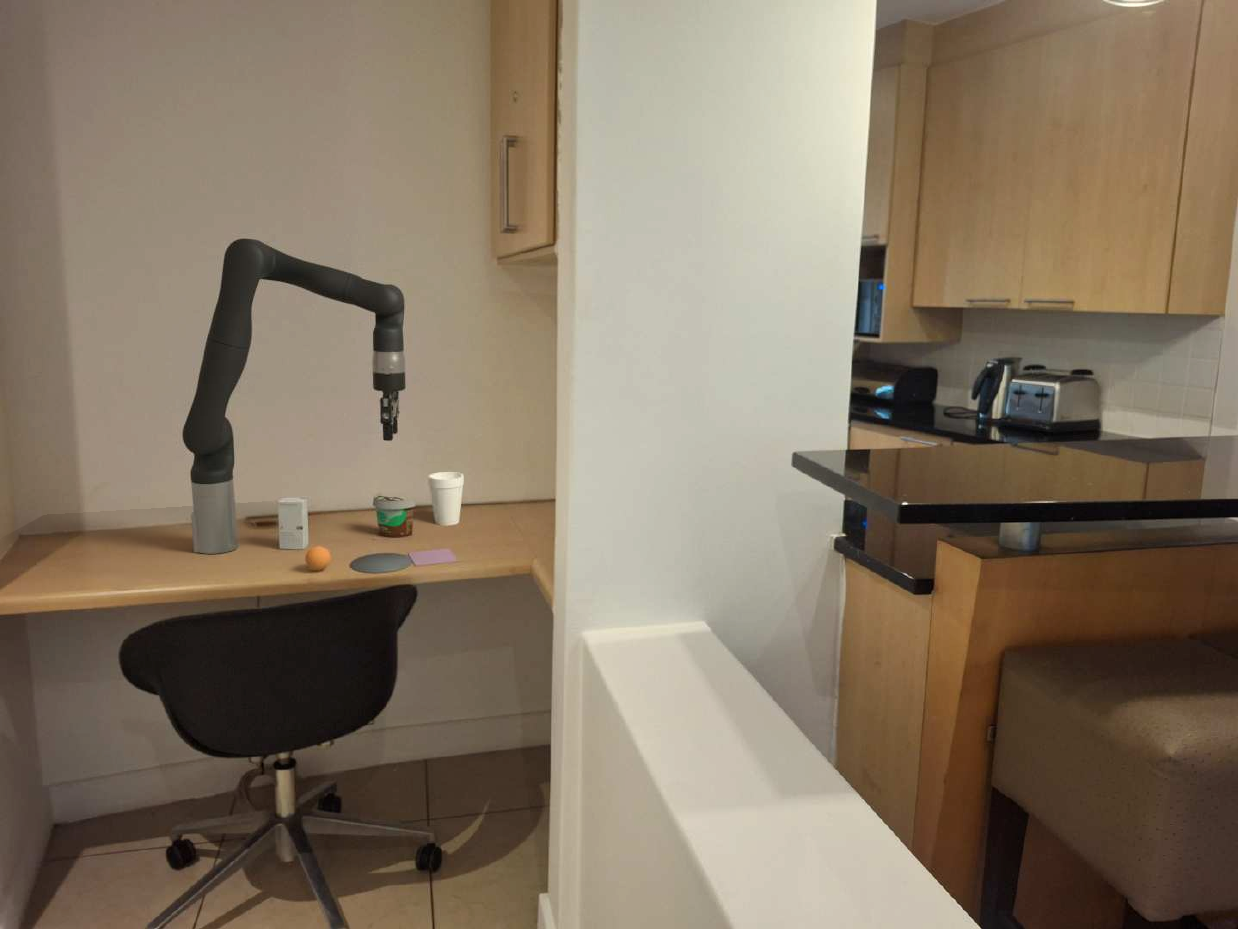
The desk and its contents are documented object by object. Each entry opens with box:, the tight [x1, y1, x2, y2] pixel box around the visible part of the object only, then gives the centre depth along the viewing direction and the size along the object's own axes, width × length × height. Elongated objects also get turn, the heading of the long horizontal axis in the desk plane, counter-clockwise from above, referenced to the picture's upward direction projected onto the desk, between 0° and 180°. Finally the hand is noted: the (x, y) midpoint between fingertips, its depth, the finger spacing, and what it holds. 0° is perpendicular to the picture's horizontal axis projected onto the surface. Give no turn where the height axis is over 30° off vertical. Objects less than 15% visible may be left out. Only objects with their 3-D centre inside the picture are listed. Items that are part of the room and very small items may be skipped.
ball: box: [304, 545, 332, 572], centre depth 202 cm, size 6×6×6 cm
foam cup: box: [427, 471, 465, 526], centre depth 240 cm, size 10×9×13 cm
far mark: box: [407, 548, 459, 567], centre depth 212 cm, size 10×10×1 cm
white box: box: [277, 496, 309, 550], centre depth 217 cm, size 6×4×12 cm
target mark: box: [349, 552, 413, 574], centre depth 208 cm, size 14×14×1 cm
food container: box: [372, 492, 416, 539], centre depth 228 cm, size 12×6×10 cm, turn 62°
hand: (390, 436), depth 214 cm, fingers open, 8 cm apart
